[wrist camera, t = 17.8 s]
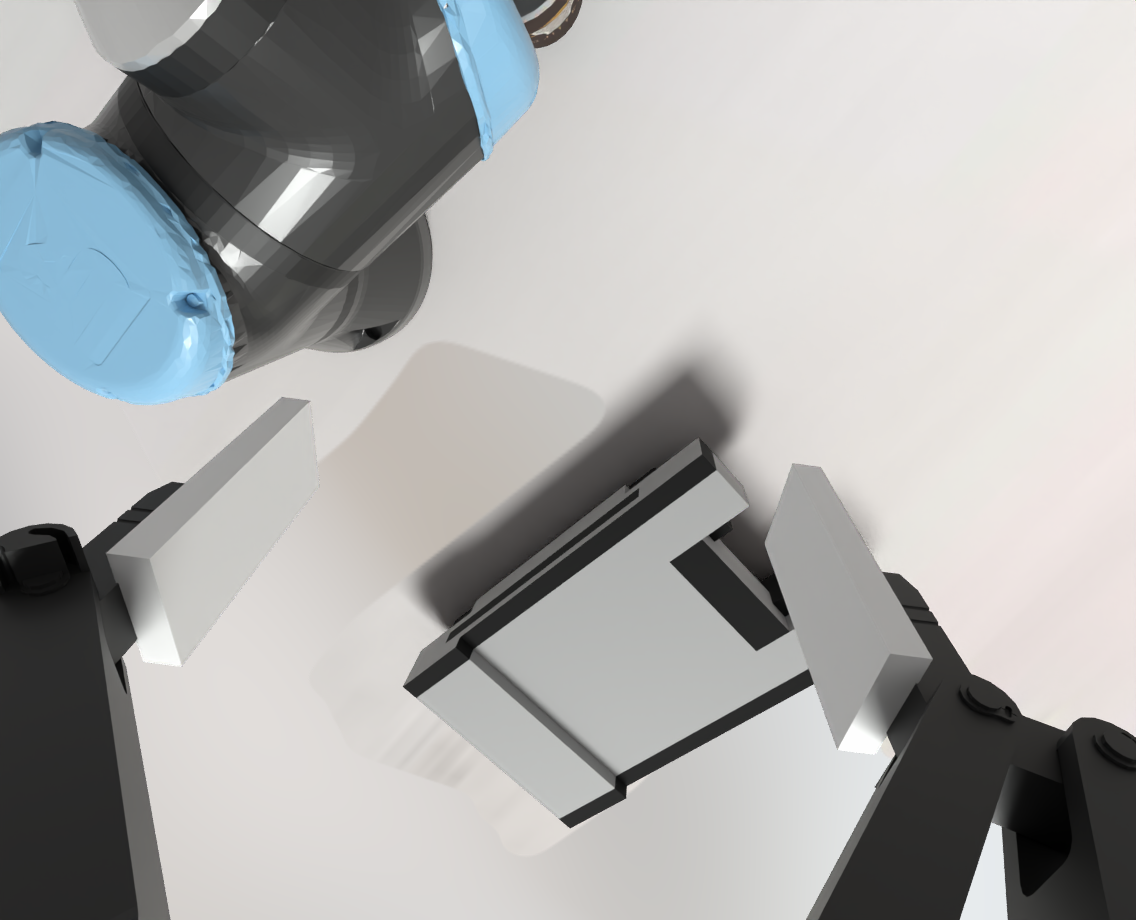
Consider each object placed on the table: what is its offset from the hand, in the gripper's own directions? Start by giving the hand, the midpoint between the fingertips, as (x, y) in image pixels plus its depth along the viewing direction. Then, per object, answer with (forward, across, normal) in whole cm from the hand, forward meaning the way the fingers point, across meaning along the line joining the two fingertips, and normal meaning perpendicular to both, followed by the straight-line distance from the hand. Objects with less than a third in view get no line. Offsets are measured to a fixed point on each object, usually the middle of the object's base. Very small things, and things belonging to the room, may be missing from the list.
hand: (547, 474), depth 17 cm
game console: (+27, +8, -30) cm, 42 cm away
